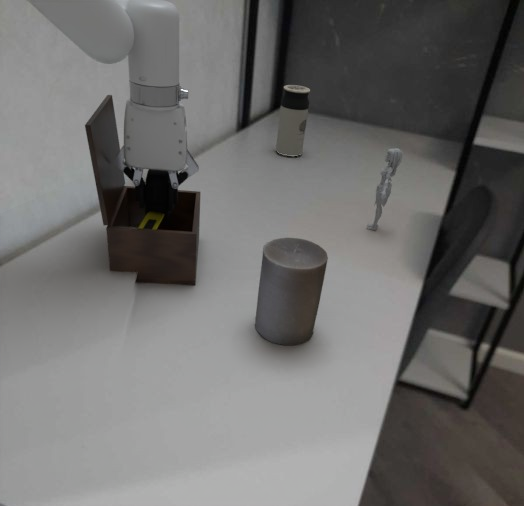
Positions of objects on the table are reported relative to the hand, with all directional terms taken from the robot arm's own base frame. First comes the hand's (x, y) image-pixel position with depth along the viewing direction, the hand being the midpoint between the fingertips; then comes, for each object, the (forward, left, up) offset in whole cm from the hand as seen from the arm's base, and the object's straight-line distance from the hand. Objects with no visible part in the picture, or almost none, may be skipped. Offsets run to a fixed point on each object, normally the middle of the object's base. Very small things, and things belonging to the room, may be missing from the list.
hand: (157, 205), depth 92 cm
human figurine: (+47, +20, -11) cm, 52 cm away
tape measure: (0, 0, -3) cm, 3 cm away
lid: (-8, 0, +8) cm, 11 cm away
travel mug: (+32, +70, -11) cm, 78 cm away
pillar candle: (+22, -21, -11) cm, 32 cm away
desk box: (0, 0, -10) cm, 10 cm away
